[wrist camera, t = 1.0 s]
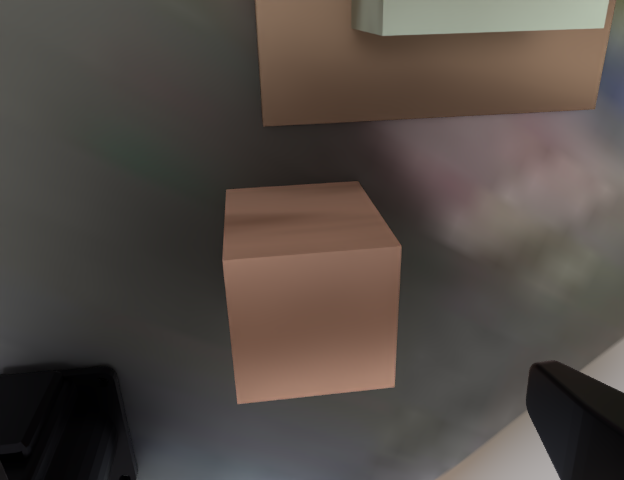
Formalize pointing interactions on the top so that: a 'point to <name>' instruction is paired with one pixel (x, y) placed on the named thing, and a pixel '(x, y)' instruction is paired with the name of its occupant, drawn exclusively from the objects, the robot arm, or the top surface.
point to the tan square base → (427, 58)
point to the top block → (309, 291)
